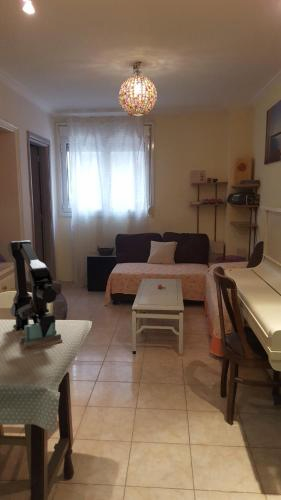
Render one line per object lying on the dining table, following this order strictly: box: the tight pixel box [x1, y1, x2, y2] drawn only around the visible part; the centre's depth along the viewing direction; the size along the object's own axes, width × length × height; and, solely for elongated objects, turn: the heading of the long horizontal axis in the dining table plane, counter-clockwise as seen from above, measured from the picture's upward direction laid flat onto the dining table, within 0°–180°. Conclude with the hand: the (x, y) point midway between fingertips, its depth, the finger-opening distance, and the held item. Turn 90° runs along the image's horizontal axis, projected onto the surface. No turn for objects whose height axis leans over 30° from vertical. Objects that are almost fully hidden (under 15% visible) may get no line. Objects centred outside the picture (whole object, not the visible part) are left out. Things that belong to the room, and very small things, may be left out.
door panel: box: [24, 322, 57, 341], centre depth 150 cm, size 12×2×7 cm, turn 124°
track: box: [18, 329, 64, 351], centre depth 151 cm, size 9×15×3 cm, turn 124°
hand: (40, 334), depth 150 cm, fingers open, 7 cm apart
